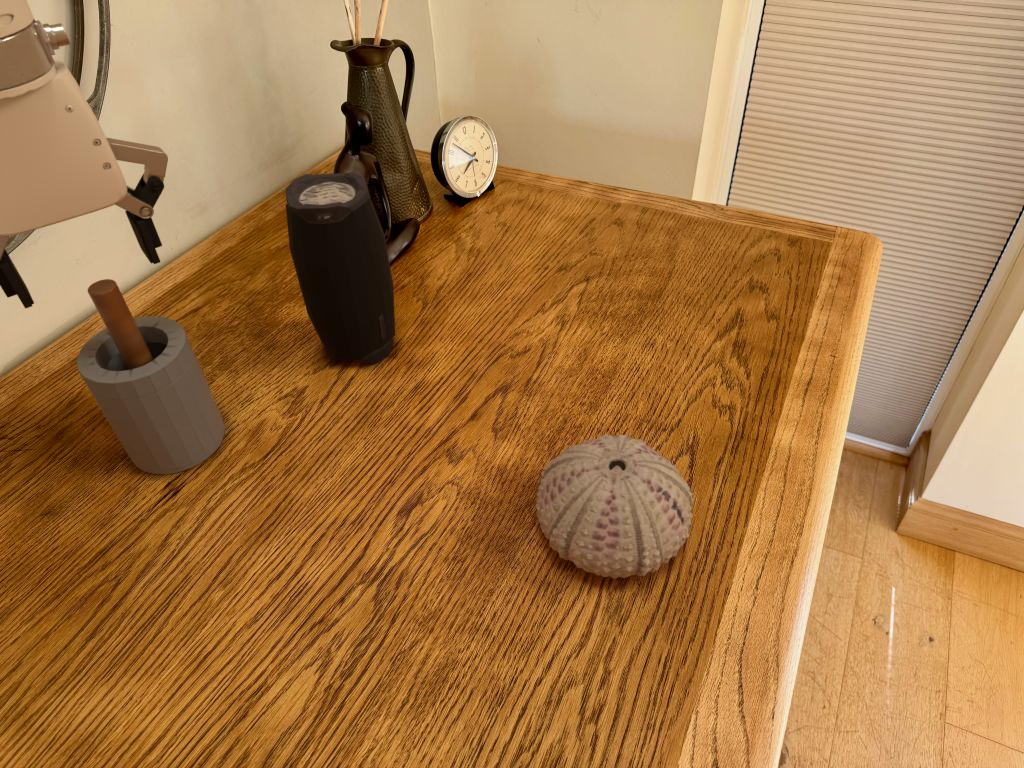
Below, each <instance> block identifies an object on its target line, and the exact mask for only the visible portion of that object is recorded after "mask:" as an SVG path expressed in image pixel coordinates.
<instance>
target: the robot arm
mask: <svg viewBox="0 0 1024 768" xmlns="http://www.w3.org/2000/svg"><path fill="white" fill-rule="evenodd" d="M70 45H71V43H70V40H69V37H68V34H67V32H66V29H65V28H64V26H63V25H62V23H55V24H54V23H53V24H49V23H48V22H47V23H42V22H41V21H40V20H36V19H35V18H34V15H33V12H32V10H31V8H30V5H29V3H28V1H27V0H0V288H1V290H2V291H3V293H4V294H5V296H6V297H7V298H11V297H14V296H17V297H18V299H19V301H20V303H21V304H22V306H23V307H24V309H25V310H27V309H29V308H31V307H33V305H34V304H35V301H34V299H33V297H32V295H31V292H30V290H29V288H28V286H27V284H26V283H25V281H24V279H23V277H22V276H21V274H20V273H19V271H18V269H17V267H16V265H15V264H14V262H13V260H12V259H11V257H10V255H9V252H8V251H7V250H6V246H7V244H8V242H9V239H10V237H13V236H17V235H21V234H25V233H28V232H29V233H30V232H32V231H35V230H39V229H43V228H47V227H49V226H53V225H55V224H59V223H63V222H66V221H70V220H73V219H75V218H76V219H77V218H79V217H82V216H86V215H89V214H91V213H95V212H98V211H102V210H104V209H107V208H110V207H113V206H117V207H119V208H120V209H123V210H125V211H124V212H125V215H126V217H127V219H128V222H129V224H130V227H131V229H132V231H133V234H134V236H135V239H136V241H137V243H138V246H139V249H140V250H141V251H142V252H143V254H144V255H145V257H146V259H147V260H148V262H149V263H150V264H153V265H156V264H159V263H161V259H160V257H159V255H158V252H157V248H160V247H163V243H162V241H161V238H160V236H159V233H158V231H157V228H156V226H155V223H154V221H153V218H152V217H153V216H154V215H155V214H154V213H155V210H154V207H155V205H156V204H157V202H158V200H159V198H160V197H161V195H162V193H163V192H164V189H165V183H164V181H165V177H166V174H167V173H166V172H167V168H168V167H167V166H168V162H169V157H168V154H167V153H166V152H165V151H164V150H163V149H162V148H161V147H160V146H155V145H150V144H145V143H140V142H139V143H138V142H135V141H129V140H122V139H117V138H111V137H107V136H106V134H105V133H104V131H103V129H102V125H100V122H99V120H98V118H97V117H96V114H95V113H94V111H93V109H92V107H91V105H90V104H89V102H88V100H87V99H86V97H85V96H84V94H83V92H82V90H81V87H80V85H79V84H78V82H77V80H76V79H75V77H74V76H73V74H72V72H71V71H70V69H69V68H68V66H67V65H66V64H65V63H64V61H63V60H60V59H58V58H53V56H55V55H56V52H55V51H57V50H60V47H65V46H70ZM118 161H119V162H126V163H133V164H139V165H144V166H143V171H144V172H143V174H142V175H141V177H140V179H139V180H138V182H137V185H136V186H135V188H132V187H131V186H129V185H127V182H126V179H125V177H124V174H123V172H122V169H121V167H120V164H119V162H118Z"/></svg>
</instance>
